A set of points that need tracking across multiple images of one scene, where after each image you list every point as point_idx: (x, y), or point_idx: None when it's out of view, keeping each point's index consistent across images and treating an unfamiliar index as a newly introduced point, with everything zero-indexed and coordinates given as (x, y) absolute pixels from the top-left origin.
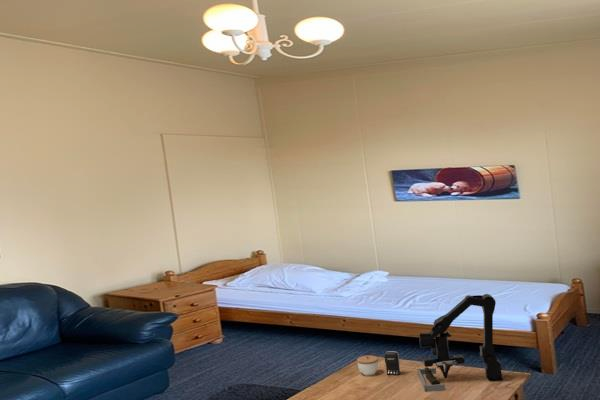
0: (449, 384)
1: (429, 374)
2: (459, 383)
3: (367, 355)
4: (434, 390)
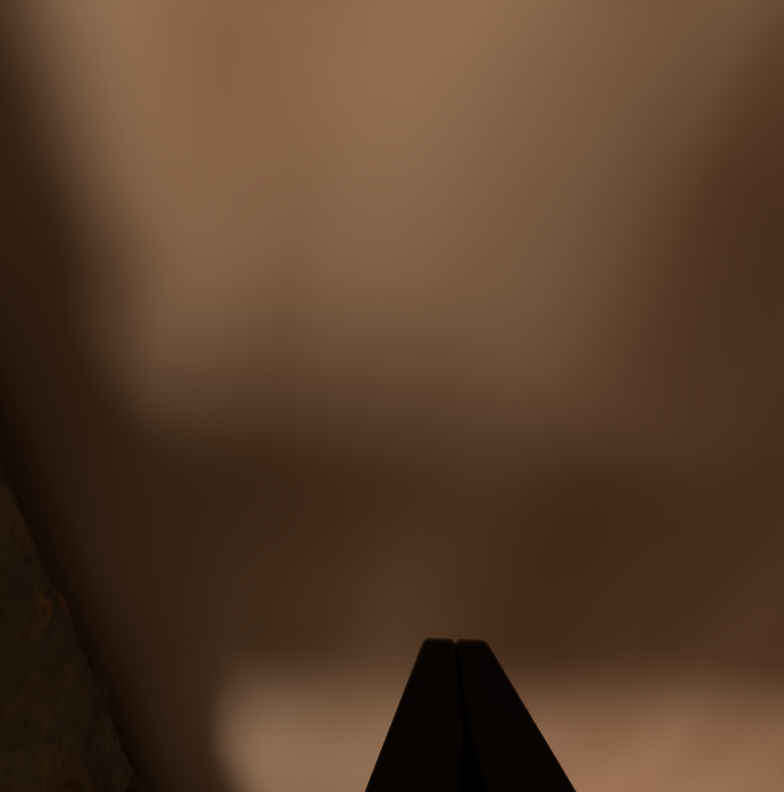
0: None
1: None
2: (719, 783)
3: None
4: None
